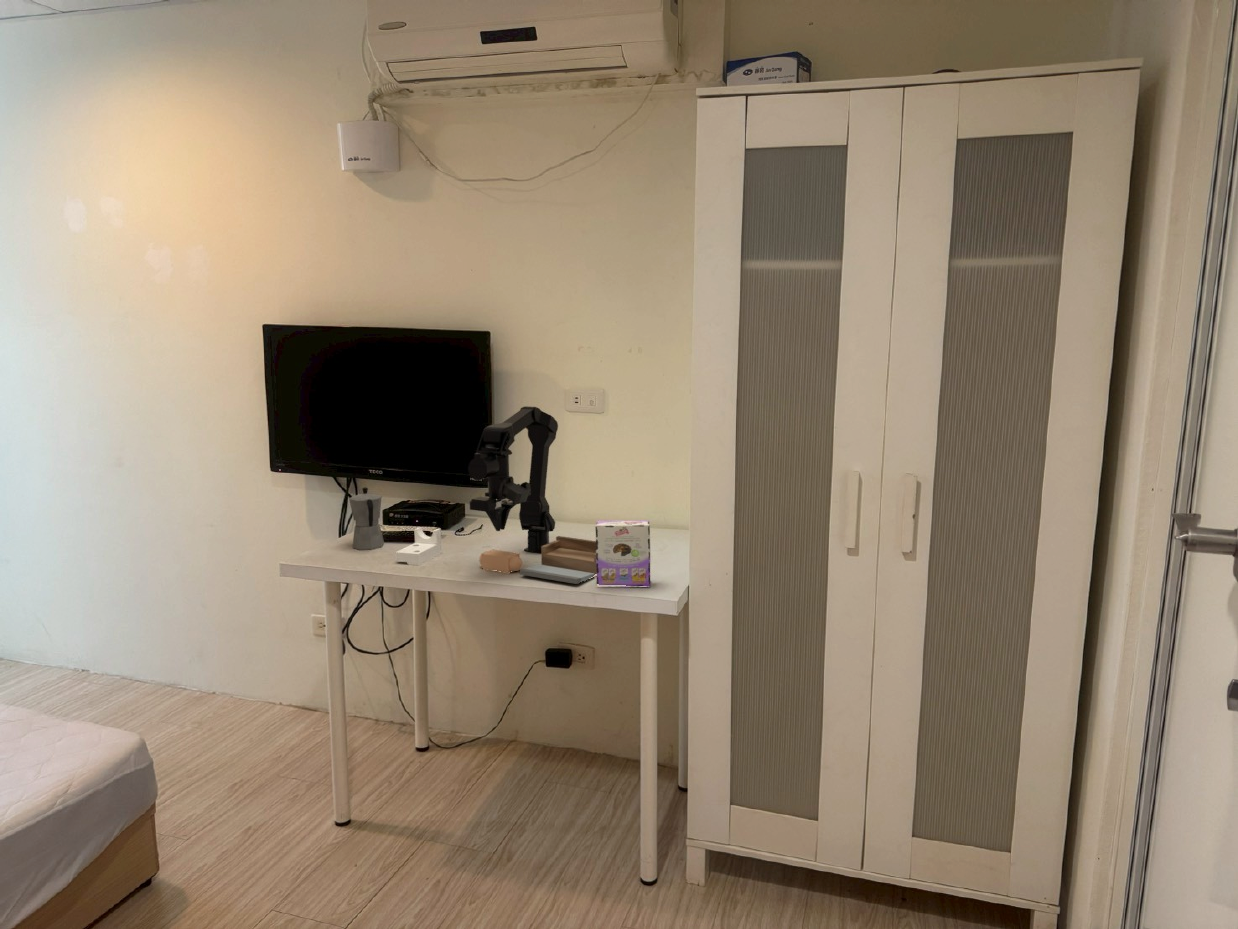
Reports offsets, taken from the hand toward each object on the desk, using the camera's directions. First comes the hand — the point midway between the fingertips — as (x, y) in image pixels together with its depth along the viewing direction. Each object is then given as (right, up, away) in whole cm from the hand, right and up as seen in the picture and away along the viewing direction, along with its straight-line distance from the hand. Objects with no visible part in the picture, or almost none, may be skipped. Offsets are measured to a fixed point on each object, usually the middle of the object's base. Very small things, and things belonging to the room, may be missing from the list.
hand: (500, 530), depth 237 cm
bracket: (-25, -10, +14) cm, 30 cm away
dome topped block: (0, -11, +2) cm, 11 cm away
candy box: (+33, -13, -12) cm, 38 cm away
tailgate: (+18, -11, -2) cm, 21 cm away
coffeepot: (-43, -7, +26) cm, 50 cm away
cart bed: (+21, -11, +2) cm, 24 cm away
